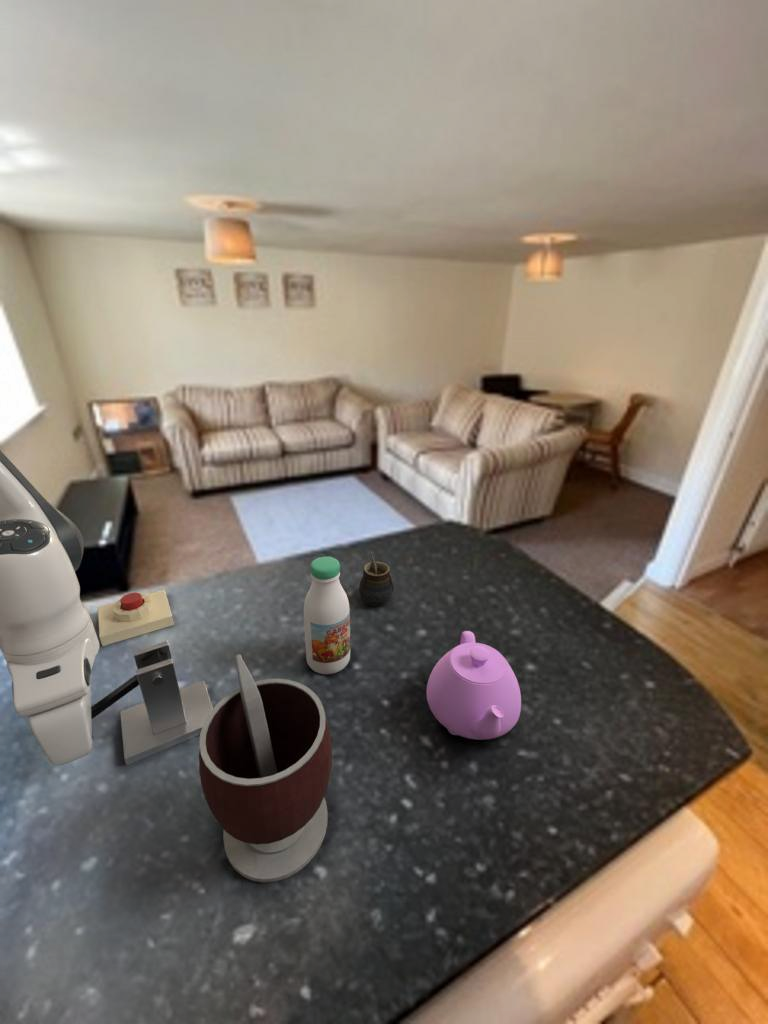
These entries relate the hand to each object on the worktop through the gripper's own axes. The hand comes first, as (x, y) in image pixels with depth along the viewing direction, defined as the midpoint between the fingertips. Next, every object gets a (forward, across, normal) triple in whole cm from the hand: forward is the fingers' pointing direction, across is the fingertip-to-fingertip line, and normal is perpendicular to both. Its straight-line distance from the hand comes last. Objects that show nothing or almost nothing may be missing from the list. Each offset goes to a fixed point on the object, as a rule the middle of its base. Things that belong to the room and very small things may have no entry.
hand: (85, 727), depth 60 cm
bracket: (+5, 0, +10) cm, 11 cm away
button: (+1, -28, +8) cm, 29 cm away
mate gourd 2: (+6, -11, +52) cm, 53 cm away
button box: (+5, -28, +8) cm, 29 cm away
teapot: (+6, +22, +50) cm, 54 cm away
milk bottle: (+6, 0, +36) cm, 36 cm away
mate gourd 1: (+6, +21, +18) cm, 28 cm away
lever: (-3, 0, +5) cm, 6 cm away
